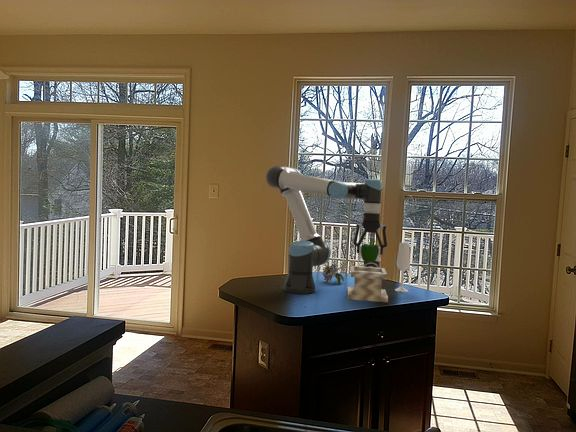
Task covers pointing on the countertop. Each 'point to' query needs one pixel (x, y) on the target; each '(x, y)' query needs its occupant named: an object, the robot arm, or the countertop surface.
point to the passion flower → (332, 273)
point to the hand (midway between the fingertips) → (369, 260)
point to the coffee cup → (372, 263)
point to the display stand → (368, 284)
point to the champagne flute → (403, 262)
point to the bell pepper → (369, 252)
